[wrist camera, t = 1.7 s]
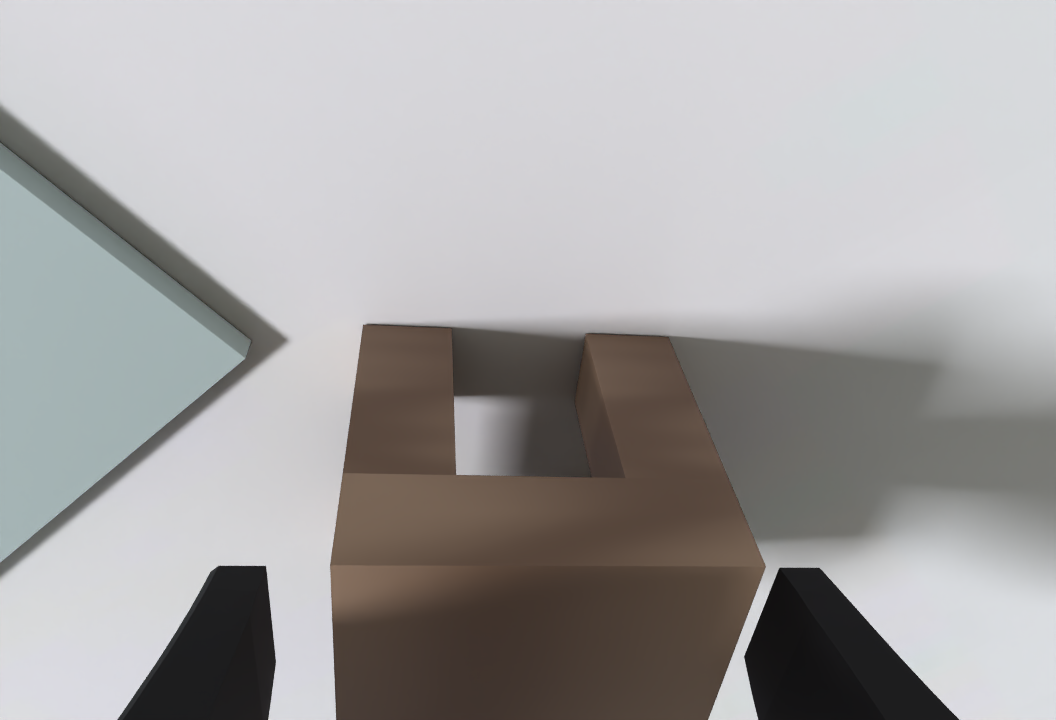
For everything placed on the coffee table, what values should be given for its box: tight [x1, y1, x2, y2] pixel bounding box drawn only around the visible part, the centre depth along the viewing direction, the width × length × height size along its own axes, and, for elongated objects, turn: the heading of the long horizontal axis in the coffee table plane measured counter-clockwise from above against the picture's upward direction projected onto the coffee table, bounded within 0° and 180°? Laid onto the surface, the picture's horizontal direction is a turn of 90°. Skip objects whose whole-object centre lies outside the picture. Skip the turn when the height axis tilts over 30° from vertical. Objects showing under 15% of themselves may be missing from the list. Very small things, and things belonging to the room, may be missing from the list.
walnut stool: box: [330, 325, 766, 720], centre depth 13 cm, size 5×5×5 cm
